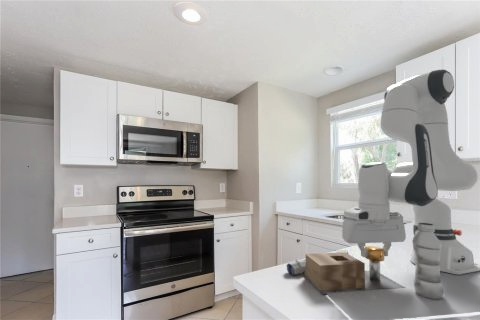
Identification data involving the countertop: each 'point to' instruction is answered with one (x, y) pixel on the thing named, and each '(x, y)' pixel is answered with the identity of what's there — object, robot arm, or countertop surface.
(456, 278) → the countertop surface
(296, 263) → the white handheld device
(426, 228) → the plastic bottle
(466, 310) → the countertop surface
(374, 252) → the brass knob
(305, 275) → the hitch block
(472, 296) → the countertop surface
